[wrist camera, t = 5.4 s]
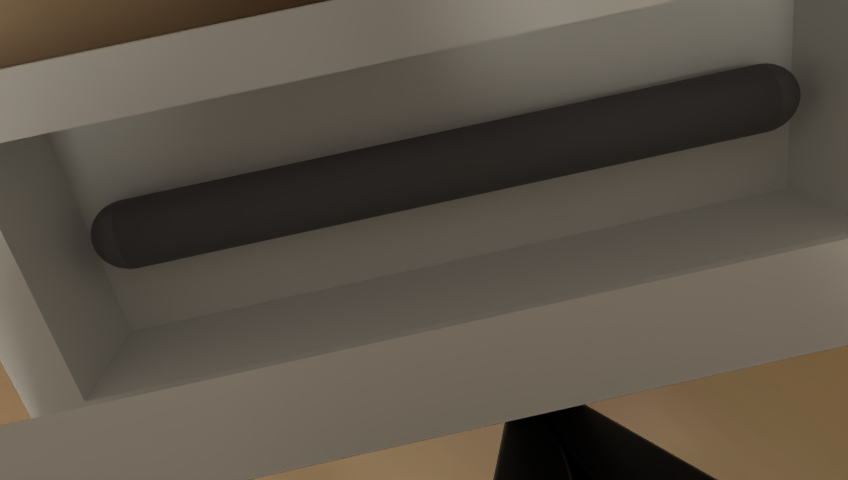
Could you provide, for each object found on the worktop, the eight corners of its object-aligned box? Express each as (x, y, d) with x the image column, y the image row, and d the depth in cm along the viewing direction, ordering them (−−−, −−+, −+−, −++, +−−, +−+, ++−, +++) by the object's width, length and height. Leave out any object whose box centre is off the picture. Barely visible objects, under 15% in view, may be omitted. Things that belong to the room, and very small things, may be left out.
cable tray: (818, -102, 15) (971, -133, 11) (803, 208, 18) (920, 264, 14) (-14, 71, 14) (-140, 99, 11) (116, 359, 18) (51, 457, 14)
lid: (1495, 95, 6) (1562, 185, 6) (923, 266, 14) (942, 309, 14) (-461, 527, 6) (-478, 641, 6) (50, 460, 14) (52, 508, 13)
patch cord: (773, 53, 15) (819, 60, 14) (772, 118, 16) (815, 131, 14) (95, 198, 15) (66, 221, 13) (120, 258, 15) (95, 287, 14)
